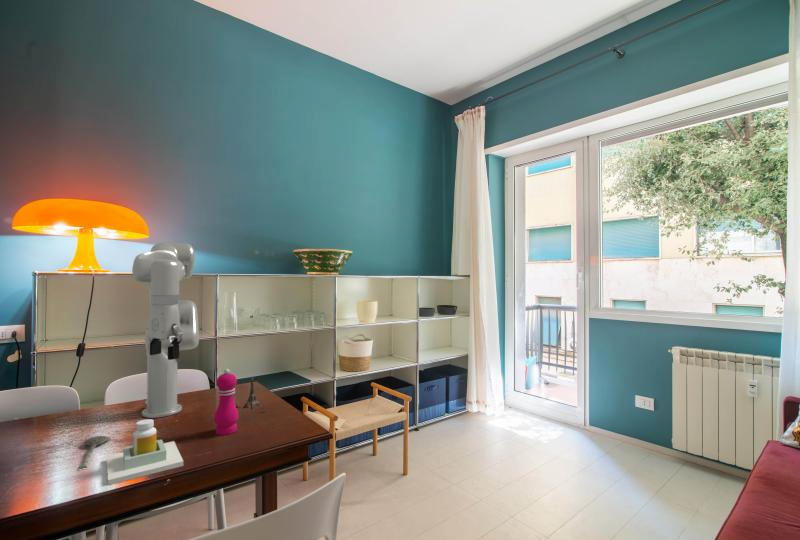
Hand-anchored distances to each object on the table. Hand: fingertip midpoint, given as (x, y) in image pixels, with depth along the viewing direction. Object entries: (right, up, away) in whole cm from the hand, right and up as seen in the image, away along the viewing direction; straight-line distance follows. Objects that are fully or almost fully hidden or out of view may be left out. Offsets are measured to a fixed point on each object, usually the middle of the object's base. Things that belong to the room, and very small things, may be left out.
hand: (164, 356), depth 122 cm
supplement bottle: (+4, -24, -15) cm, 29 cm away
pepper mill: (+16, -26, +6) cm, 31 cm away
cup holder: (+4, -25, -15) cm, 30 cm away
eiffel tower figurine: (+16, -27, +29) cm, 42 cm away
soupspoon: (-15, -26, -9) cm, 31 cm away
